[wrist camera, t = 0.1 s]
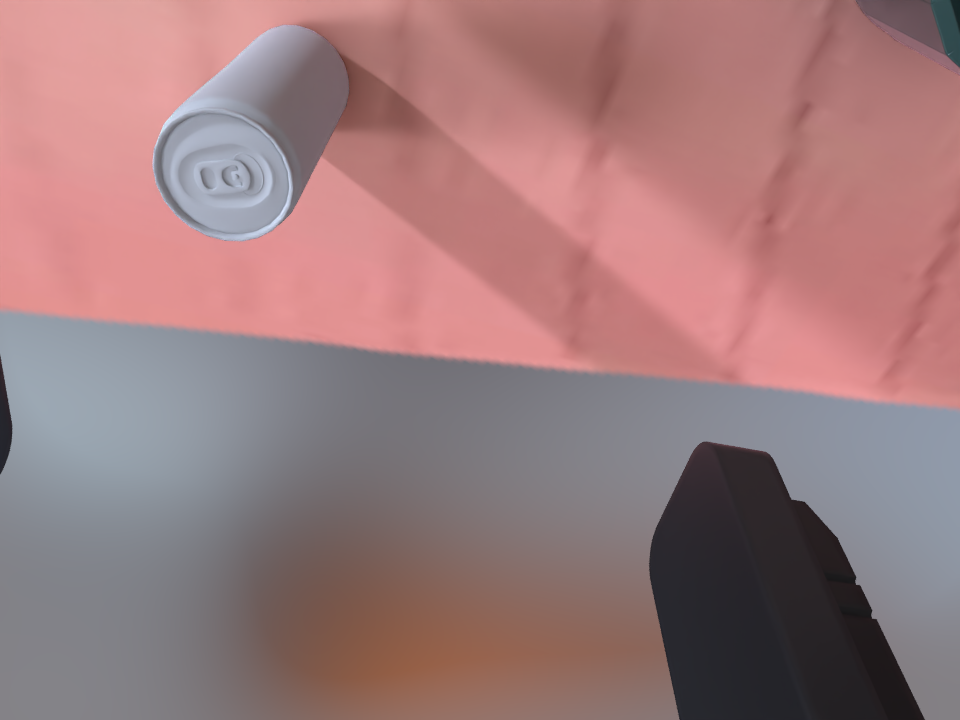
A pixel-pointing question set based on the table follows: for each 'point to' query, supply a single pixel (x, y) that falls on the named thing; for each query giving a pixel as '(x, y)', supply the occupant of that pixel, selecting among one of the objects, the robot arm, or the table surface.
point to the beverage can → (252, 135)
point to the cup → (920, 26)
